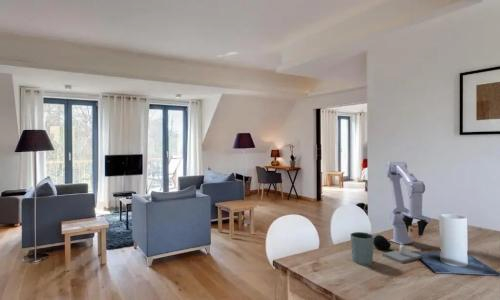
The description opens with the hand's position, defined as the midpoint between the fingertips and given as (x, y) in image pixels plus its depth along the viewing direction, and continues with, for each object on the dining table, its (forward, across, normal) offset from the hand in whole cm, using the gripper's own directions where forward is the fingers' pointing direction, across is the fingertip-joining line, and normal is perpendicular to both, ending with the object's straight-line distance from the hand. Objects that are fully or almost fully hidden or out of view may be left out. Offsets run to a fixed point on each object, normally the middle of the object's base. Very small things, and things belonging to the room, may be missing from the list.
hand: (414, 233), depth 156 cm
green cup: (+10, -4, -32) cm, 33 cm away
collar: (+1, 0, 0) cm, 1 cm away
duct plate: (+9, +1, -11) cm, 14 cm away
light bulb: (+10, -10, -9) cm, 17 cm away
